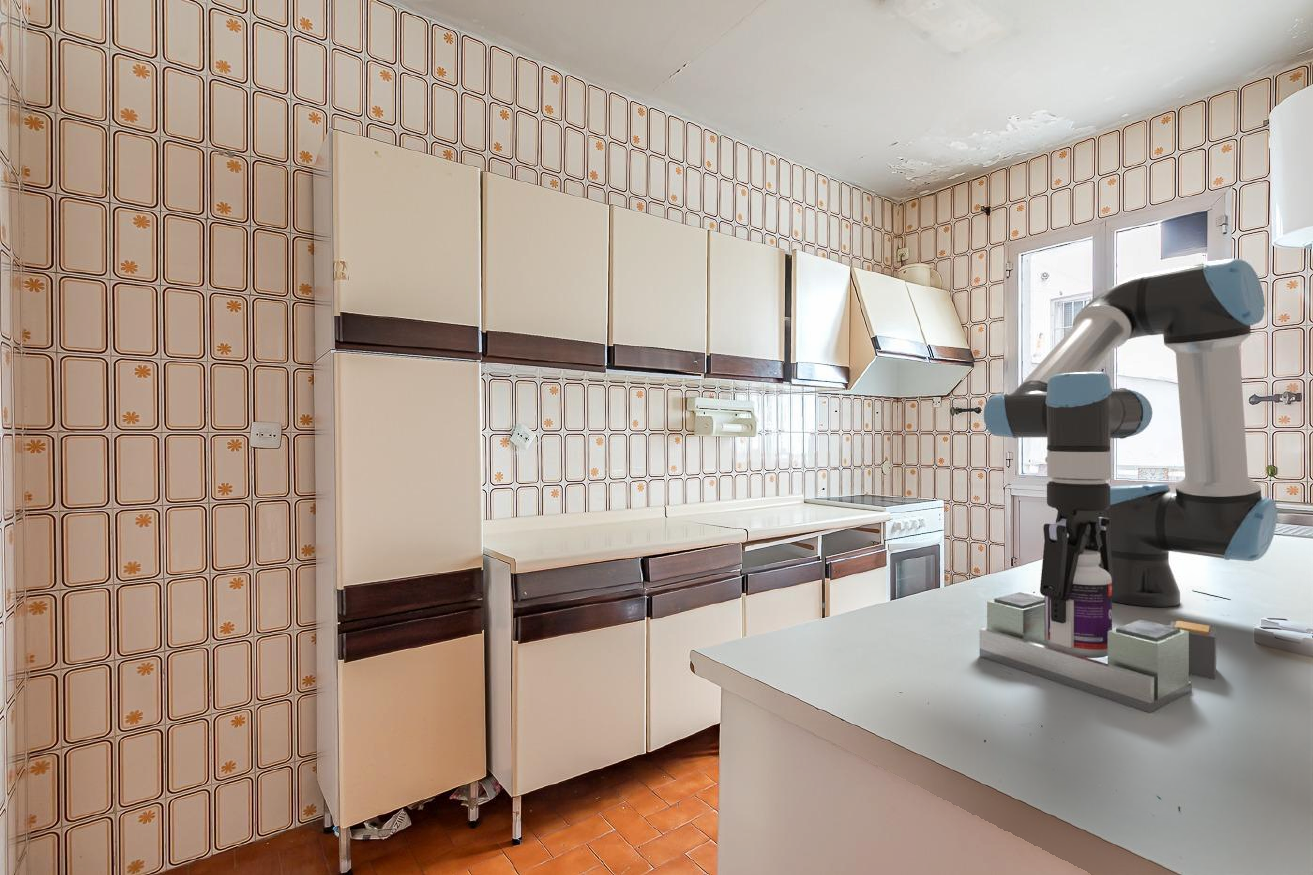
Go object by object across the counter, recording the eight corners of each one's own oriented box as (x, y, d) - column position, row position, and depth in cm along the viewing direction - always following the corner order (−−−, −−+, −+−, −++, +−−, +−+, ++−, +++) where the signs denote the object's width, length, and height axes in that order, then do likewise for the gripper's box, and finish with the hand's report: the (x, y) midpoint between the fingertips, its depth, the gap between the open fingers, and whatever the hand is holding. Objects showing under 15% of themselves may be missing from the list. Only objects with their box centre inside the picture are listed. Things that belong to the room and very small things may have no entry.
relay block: (1171, 660, 92) (1171, 618, 92) (1216, 669, 88) (1216, 625, 88) (1167, 670, 88) (1168, 626, 88) (1214, 680, 85) (1214, 634, 85)
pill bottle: (1124, 663, 83) (1124, 557, 83) (1059, 659, 85) (1058, 556, 84) (1094, 642, 91) (1094, 546, 91) (1035, 639, 93) (1034, 544, 92)
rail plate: (1023, 641, 100) (1023, 589, 100) (1191, 690, 81) (1191, 626, 81) (979, 656, 94) (979, 600, 94) (1150, 712, 75) (1150, 643, 75)
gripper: (1086, 475, 96) (1086, 619, 96) (1009, 483, 85) (1010, 644, 86) (1142, 478, 89) (1142, 633, 90) (1067, 487, 79) (1068, 661, 79)
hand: (1078, 638), depth 88 cm, fingers closed on pill bottle, 8 cm apart
